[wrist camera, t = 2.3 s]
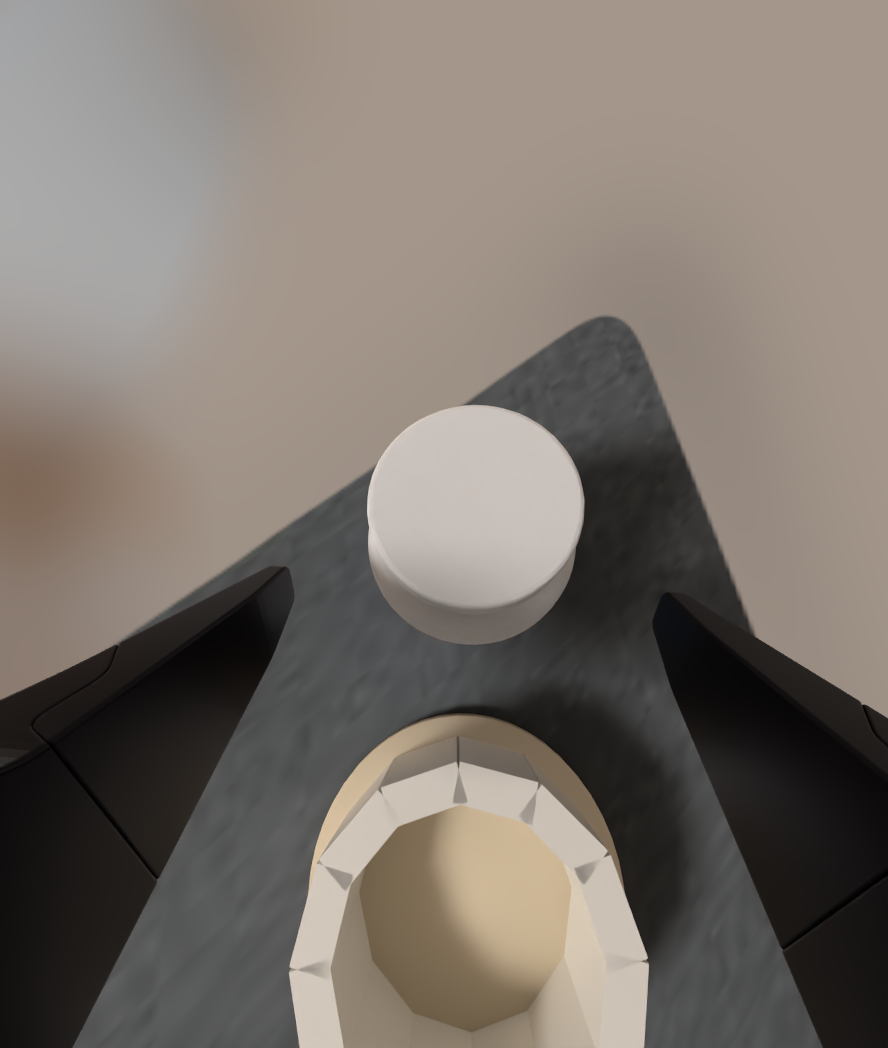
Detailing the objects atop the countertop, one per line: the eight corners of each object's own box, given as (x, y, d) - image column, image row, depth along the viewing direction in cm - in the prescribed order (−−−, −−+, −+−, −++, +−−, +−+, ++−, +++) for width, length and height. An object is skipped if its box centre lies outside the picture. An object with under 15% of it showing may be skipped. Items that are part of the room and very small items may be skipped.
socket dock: (477, 1185, 13) (488, 1441, 9) (254, 883, 16) (181, 972, 11) (678, 871, 15) (761, 958, 11) (454, 654, 18) (453, 659, 14)
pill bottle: (526, 519, 20) (611, 374, 9) (529, 645, 18) (639, 655, 7) (408, 516, 20) (349, 371, 9) (399, 640, 18) (315, 642, 7)
